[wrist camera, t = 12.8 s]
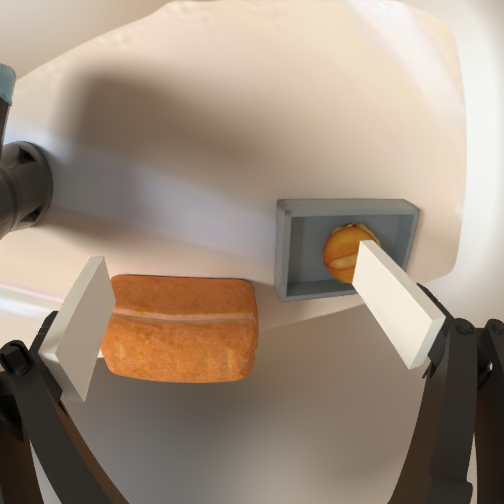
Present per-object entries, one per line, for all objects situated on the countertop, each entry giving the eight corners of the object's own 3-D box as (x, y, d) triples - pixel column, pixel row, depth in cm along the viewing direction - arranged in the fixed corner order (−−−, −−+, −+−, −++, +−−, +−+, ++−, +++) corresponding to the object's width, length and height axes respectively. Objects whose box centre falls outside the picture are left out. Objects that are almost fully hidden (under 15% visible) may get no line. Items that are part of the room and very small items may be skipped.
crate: (274, 285, 54) (279, 302, 49) (277, 199, 46) (284, 210, 42) (388, 274, 56) (400, 287, 52) (404, 199, 49) (419, 209, 44)
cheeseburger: (348, 280, 54) (361, 308, 45) (305, 249, 53) (310, 272, 43) (383, 239, 51) (403, 260, 41) (340, 204, 49) (353, 218, 40)
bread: (247, 333, 59) (258, 396, 45) (118, 328, 54) (101, 389, 41) (255, 275, 52) (271, 338, 38) (108, 269, 48) (79, 329, 34)
